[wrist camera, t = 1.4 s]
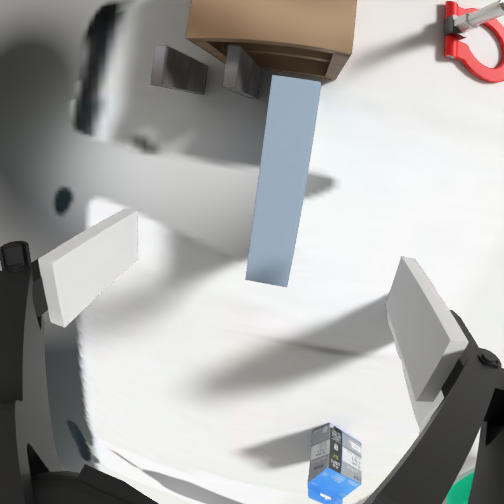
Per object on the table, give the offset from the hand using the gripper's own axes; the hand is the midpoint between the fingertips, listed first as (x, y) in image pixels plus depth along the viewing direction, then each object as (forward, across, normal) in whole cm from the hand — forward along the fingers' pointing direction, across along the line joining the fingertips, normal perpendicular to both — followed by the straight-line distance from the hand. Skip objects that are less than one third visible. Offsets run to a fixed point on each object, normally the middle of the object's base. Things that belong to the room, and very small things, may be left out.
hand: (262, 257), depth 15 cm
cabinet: (+17, -3, +17) cm, 24 cm away
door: (+17, 0, +2) cm, 18 cm away
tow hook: (+18, +18, +20) cm, 32 cm away
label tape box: (+18, +15, -37) cm, 43 cm away
